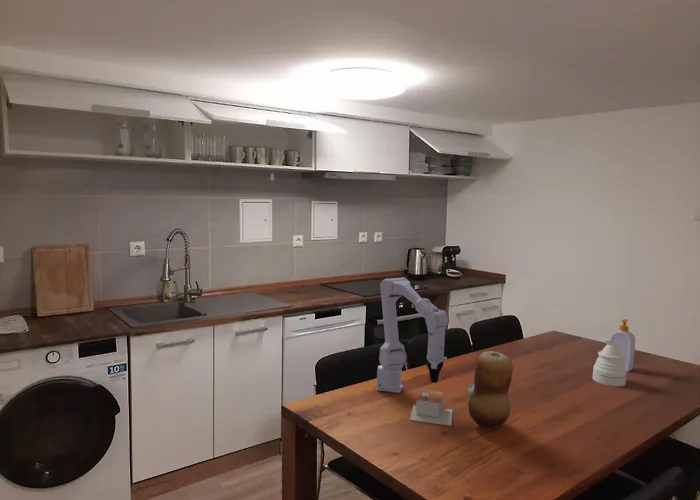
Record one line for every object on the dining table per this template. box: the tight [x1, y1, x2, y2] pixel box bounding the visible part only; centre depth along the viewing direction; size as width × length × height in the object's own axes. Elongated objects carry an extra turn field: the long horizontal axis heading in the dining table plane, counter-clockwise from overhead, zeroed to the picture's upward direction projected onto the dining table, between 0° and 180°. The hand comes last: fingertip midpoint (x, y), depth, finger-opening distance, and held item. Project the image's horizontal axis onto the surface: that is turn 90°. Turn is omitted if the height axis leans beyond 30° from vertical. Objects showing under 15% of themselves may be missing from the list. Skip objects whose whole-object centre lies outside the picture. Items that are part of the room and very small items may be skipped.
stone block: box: [467, 381, 474, 397], centre depth 201 cm, size 12×5×10 cm
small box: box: [416, 389, 445, 418], centre depth 183 cm, size 8×6×10 cm
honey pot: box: [592, 338, 628, 387], centre depth 221 cm, size 13×13×18 cm
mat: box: [409, 404, 453, 427], centre depth 180 cm, size 14×12×1 cm
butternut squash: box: [467, 350, 514, 428], centre depth 172 cm, size 14×13×25 cm
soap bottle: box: [609, 318, 636, 373], centre depth 238 cm, size 9×7×23 cm
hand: (434, 382), depth 183 cm, fingers closed
